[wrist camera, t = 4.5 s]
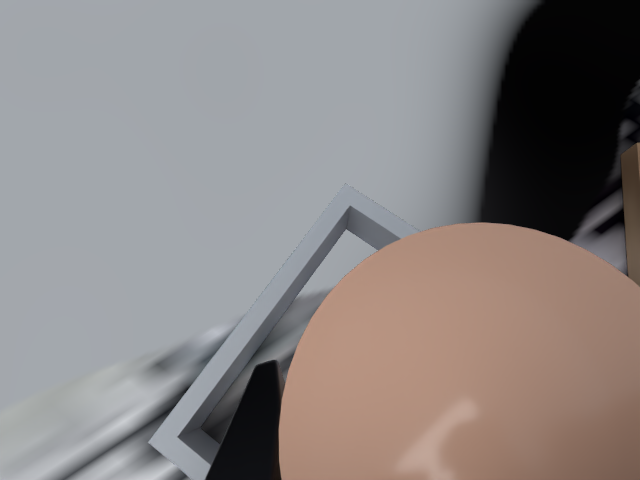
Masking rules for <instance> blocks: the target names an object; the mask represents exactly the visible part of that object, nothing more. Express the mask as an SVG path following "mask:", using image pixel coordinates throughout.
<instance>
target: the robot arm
mask: <svg viewBox="0 0 640 480" xmlns="http://www.w3.org/2000/svg"><path fill="white" fill-rule="evenodd" d="M284 388H285V381H284V378H283V375H282V372H281V369H280V366H279V363H278V361H276V360H271V361H267V362H264V363H260V364H258V365H256V366H255V368H254V370H253V372H252V374H251V377H250V379H249V381H248V383H247V386H246V388H245V390H244V392H243V395H242V397H241V399H240V401H239V403H238V406H237V408H236V410H235V412H234V415H233V417H232V419H231V421H230V424H229V426H228V428H227V430H226V433H225V435H224V437H223V439H222V442H221V444H220V446H219V448H218V451H217V453H216V455H215V457H214V460H213V462H212V464H211V466H210V468H209V471H208V473H207V475H206V477H205V480H282V479H281V471H280V464H279V423H280V413H281V404H282V397H283V392H284Z"/></svg>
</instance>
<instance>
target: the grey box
mask: <svg viewBox="0 0 640 480" xmlns="http://www.w3.org/2000/svg"><path fill="white" fill-rule="evenodd" d="M346 229H347V230H349V231H350V232H352V233H353V234H355V235H356V236H358V237H359V238H361V239H362V240H364V241H365V242H367V243H368V244H370V245H371V246H373V247H374V248H376V249H377V250H380V249H382V248H383V247H385V246H387V245H389V244H391V243H393V242H395V241H398V240H400V239H402V238H404V237H406V236H408V235H412V234H415V233H418V232H421V231H419V230H418V229H416V228H415V227H413V226H412V225H410V224H408V223H407V222H405V221H403V220H402V219H401V218H399V217H397V216H396V215H394V214H393V213H391V212H390V211H388V210H387V209H385V208H384V207H382V206H380V205H379V204H377V203H376V202H374V201H373V200H371V199H370V198H368V197H367V196H365V195H363V194H362V193H360V192H359V191H357V190H356V189H354V188H353V187H351V186H349V185H348V184H346V183H345V184H344V186H343V187H342V188H341V190H340V191H339V192H338V194H337V195H336V196H335V198H334V199H333V200H332V201H331V203H330V204H329V205H328V207H327V208H326V209H325V211H324V212H323V213H322V215H321V216H320V217H319V219H318V220H317V221H316V223H315V224H314V225H313V226H312V228H311V229H310V230H309V232H308V233H307V234H306V236H305V237H304V238H303V240H302V241H301V242H300V244H299V245H298V246H297V247H296V249H295V250H294V251H293V253H292V254H291V256H290V257H289V258H288V259H287V261H286V262H285V263H284V264H283V266H282V267H281V269H280V270H279V271H278V272H277V274H276V275H275V276H274V278H273V279H272V280H271V282H270V283H269V284H268V286H267V287H266V288H265V290H264V291H263V292H262V293H261V295H260V296H259V297H258V299H257V300H256V301H255V303H254V304H253V305H252V307H251V308H250V309H249V311H248V312H247V313H246V314H245V316H244V317H243V318H242V320H241V321H240V322H239V324H238V325H237V326H236V328H235V329H234V330H233V332H232V333H231V334H230V335H229V337H228V338H227V339H226V341H225V342H224V343H223V345H222V346H221V347H220V349H219V350H218V351H217V353H216V354H215V355H214V356H213V358H212V359H211V360H210V362H209V363H208V364H207V366H206V367H205V368H204V370H203V371H202V372H201V374H200V375H199V376H198V378H197V379H196V380H195V381H194V383H193V384H192V385H191V387H190V388H189V389H188V391H187V392H186V393H185V395H184V396H183V397H182V399H181V400H180V401H179V402H178V404H177V405H176V406H175V408H174V409H173V410H172V412H171V413H170V414H169V416H168V417H167V418H166V420H165V421H164V422H163V424H162V425H161V426H160V427H159V429H158V430H157V431H156V433H155V434H154V435H153V437H152V438H151V439H150V441H149V442H148V443H150V444H151V445H152V446H153V447H154V448H155V449H157V450H158V451H159V452H160V453H161V454H162V455H164V456H165V457H166V458H167V459H168V460H169V461H171V462H172V463H173V464H174V465H175V466H177V467H178V468H179V469H180V470H181V471H182V472H184V473H185V474H186V475H187V476H188V477H189V478H191V479H192V480H205V477H206V475H207V473H208V471H209V468H210V466H211V464H212V462H213V460H214V457H215V455H216V453H217V451H218V448H219V446H220V444H219V443H218V442H216V441H215V440H214V439H213V438H211V437H210V436H209V435H208V434H207V433H205V432H204V431H203V430H202V429H201V428H200V427H201V425H202V424H203V423H204V421H205V420H206V419H207V417H208V416H209V415H210V413H211V412H212V410H213V409H214V408H215V406H216V405H217V404H218V402H219V401H220V400H221V398H222V397H223V396H224V394H225V393H226V391H227V390H228V389H229V387H230V386H231V385H232V383H233V382H234V381H235V379H236V378H237V376H238V375H239V374H240V372H241V371H242V370H243V368H244V367H245V366H246V364H247V363H248V362H249V360H250V359H251V357H252V356H253V355H254V353H255V352H256V351H257V349H258V348H259V347H260V345H261V344H262V342H263V341H264V340H265V338H266V337H267V336H268V334H269V333H270V332H271V330H272V329H273V328H274V326H275V325H276V323H277V322H278V321H279V319H280V318H281V317H282V315H283V314H284V313H285V311H286V310H287V309H288V307H289V306H290V304H291V303H292V302H293V300H294V299H295V298H296V296H297V295H298V294H299V292H300V291H301V289H302V288H303V287H304V285H305V284H306V283H307V281H308V280H309V278H310V277H311V276H312V275H313V273H314V272H315V270H316V269H317V268H318V266H319V265H320V264H321V262H322V261H323V260H324V258H325V257H326V255H327V254H328V253H329V251H330V250H331V249H332V247H333V246H334V244H335V243H336V242H337V240H338V239H339V238H340V236H341V235H342V234H343V232H344V231H345V230H346Z"/></svg>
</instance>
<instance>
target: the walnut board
mask: <svg viewBox="0 0 640 480" xmlns="http://www.w3.org/2000/svg"><path fill="white" fill-rule="evenodd" d="M621 169H622V186H623V202H624V218H625V234H626V250H627V267H628V278H630V279H631V280H633V281H634V282H635V283H636V284H637V285H638V286H639V287H640V143H636V144H635V145H633V146H632V147H631V148H629V149H628V150H627V151H625V152H624V153H623V154H621Z"/></svg>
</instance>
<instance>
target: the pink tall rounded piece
mask: <svg viewBox="0 0 640 480" xmlns="http://www.w3.org/2000/svg"><path fill="white" fill-rule="evenodd" d="M279 464H280V471H281V479H282V480H640V287H639V286H638V285H637V284H636V283H635V282H634V281H633V280H631V279H630V278H628V277H627V276H626V275H624V274H623V273H622V272H620V271H619V270H618V269H616V268H615V267H614V266H612V265H611V264H610V263H608V262H606V261H605V260H603V259H601V258H599V257H598V256H596V255H594V254H593V253H591V252H589V251H587V250H586V249H584V248H582V247H579V246H577V245H575V244H573V243H570V242H568V241H566V240H563V239H561V238H559V237H556V236H553V235H550V234H546V233H543V232H540V231H537V230H534V229H528V228H524V227H518V226H513V225H508V224H495V223H462V224H454V225H447V226H441V227H435V228H431V229H428V230H425V231H422V232H418V233H415V234H412V235H408V236H406V237H404V238H402V239H400V240H398V241H395V242H393V243H391V244H389V245H387V246H385V247H383V248H382V249H380V250H379V251H377V252H376V253H374V254H372V255H371V256H369V257H368V258H366V259H365V260H363V261H362V262H361V263H360V264H358V265H357V266H356V267H355V268H354V269H352V270H351V271H350V272H349V273H348V274H347V275H345V276H344V277H343V278H342V280H341V281H340V282H339V283H338V284H337V285H336V286H335V287H334V288H333V289H332V290H331V292H330V293H329V294H328V295H327V296H326V298H325V299H324V300H323V302H322V303H321V305H320V306H319V308H318V309H317V310H316V312H315V313H314V315H313V316H312V318H311V320H310V322H309V323H308V325H307V327H306V329H305V331H304V333H303V335H302V337H301V339H300V341H299V343H298V346H297V348H296V351H295V354H294V357H293V359H292V362H291V365H290V367H289V371H288V375H287V379H286V384H285V388H284V392H283V397H282V404H281V413H280V423H279Z"/></svg>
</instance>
